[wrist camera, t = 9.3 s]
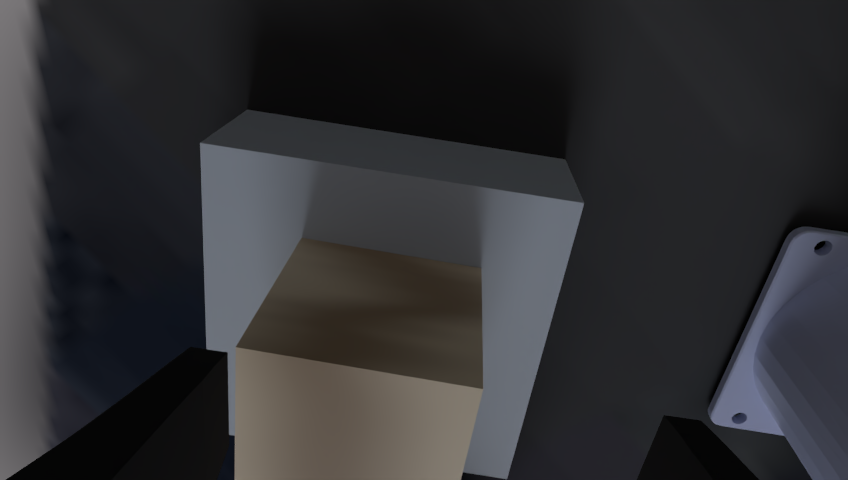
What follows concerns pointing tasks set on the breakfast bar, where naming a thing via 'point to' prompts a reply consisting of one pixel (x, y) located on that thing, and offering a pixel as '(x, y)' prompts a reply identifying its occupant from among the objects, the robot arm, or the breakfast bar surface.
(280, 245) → the grey base block
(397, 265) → the maple cube
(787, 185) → the breakfast bar surface
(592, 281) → the breakfast bar surface
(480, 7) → the breakfast bar surface
